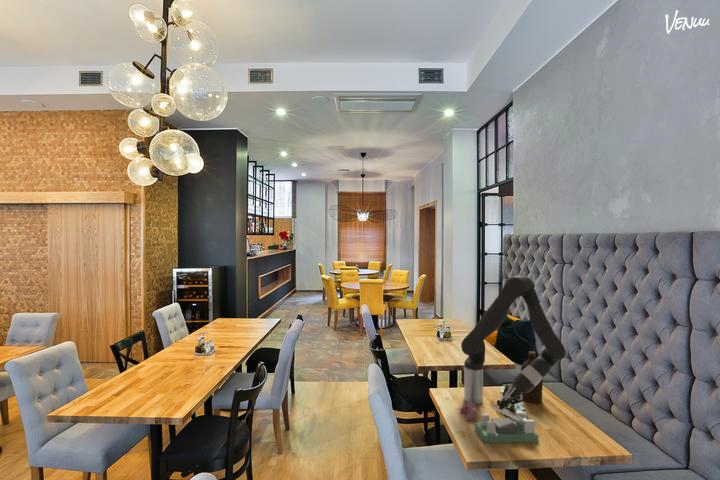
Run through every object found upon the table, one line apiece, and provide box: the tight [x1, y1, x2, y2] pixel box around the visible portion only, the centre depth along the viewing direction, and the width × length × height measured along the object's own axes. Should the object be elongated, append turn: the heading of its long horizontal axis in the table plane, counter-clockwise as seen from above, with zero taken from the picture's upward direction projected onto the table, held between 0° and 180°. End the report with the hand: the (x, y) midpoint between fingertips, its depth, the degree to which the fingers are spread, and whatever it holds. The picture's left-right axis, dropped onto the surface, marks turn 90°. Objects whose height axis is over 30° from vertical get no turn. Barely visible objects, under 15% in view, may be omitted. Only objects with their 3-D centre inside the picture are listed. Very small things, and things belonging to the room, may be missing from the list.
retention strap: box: [489, 400, 527, 423], centre depth 157 cm, size 5×17×2 cm, turn 92°
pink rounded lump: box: [459, 402, 478, 422], centre depth 174 cm, size 10×5×7 cm, turn 1°
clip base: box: [474, 411, 539, 444], centre depth 157 cm, size 11×22×8 cm, turn 92°
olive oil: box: [520, 350, 544, 404], centre depth 192 cm, size 11×11×25 cm
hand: (499, 407), depth 156 cm, fingers closed
